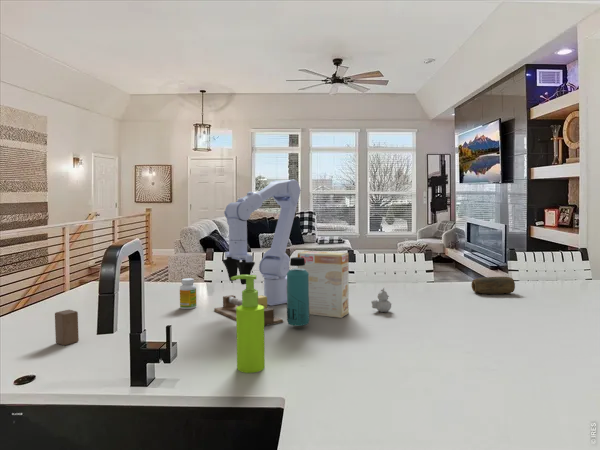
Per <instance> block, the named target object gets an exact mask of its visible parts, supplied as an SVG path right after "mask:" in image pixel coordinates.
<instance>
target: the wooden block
mask: <svg viewBox="0 0 600 450" xmlns="http://www.w3.org/2000/svg"><path fill="white" fill-rule="evenodd" d="M78 315H79V314H78V311H77V310H73V309H65V310H60V311H56V312H54V328H55V329H54V330H55V331H54V332H55V333H54V334H55V344H58V345H61V346H68V345H72V344H74V343H78V342H79V340H80V339H79V338H80V337H79V316H78Z"/></svg>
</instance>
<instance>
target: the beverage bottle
mask: <svg viewBox="0 0 600 450" xmlns="http://www.w3.org/2000/svg"><path fill="white" fill-rule="evenodd" d="M304 265H305V260H304V258H301V257H298V256H296V257H291V258H290V262H289V266H293V267H298V266H304ZM286 288H287V293H286V294H287V303H286V321H287V324H288V325H290V326H297V327H298V326H302V327H303V326H306V325H308V324H309V323H310V314H309V313H310V312H309V311H310V310H309V305H310V304H309V273H308V272H307V271H306V270H305V269H298V268H292V269H289V271H288V273H287V287H286Z"/></svg>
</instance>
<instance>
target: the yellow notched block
mask: <svg viewBox="0 0 600 450" xmlns="http://www.w3.org/2000/svg"><path fill="white" fill-rule="evenodd" d="M258 305H262V306H264V309H268V304H267V297H266V296H264V294H263V295H258Z"/></svg>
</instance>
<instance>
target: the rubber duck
mask: <svg viewBox="0 0 600 450" xmlns="http://www.w3.org/2000/svg"><path fill="white" fill-rule="evenodd" d="M389 297H390V296H389V294H388V293H387V291H386V290H385V287H383V289H380V291H379V292H378V293H377V299H372V300H371V305H372V306H371V308H372V309H376V310H377V311H378V312H381V313H386V312H389V311H390V310H391V308H392V303H391V301H389Z"/></svg>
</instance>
